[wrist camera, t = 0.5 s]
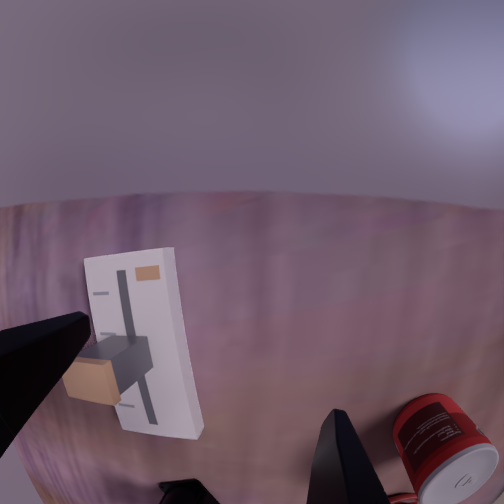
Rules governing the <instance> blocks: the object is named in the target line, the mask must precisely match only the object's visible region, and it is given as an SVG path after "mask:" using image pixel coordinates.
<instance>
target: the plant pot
mask: <svg viewBox="0 0 504 504" xmlns="http://www.w3.org/2000/svg"><path fill="white" fill-rule="evenodd" d="M388 499H389V501H390V502H391V504H420V502H419V501H418V498H417V496H416V494H415V493H411V494H402V495H398V496H394V497H391V498H388Z"/></svg>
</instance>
